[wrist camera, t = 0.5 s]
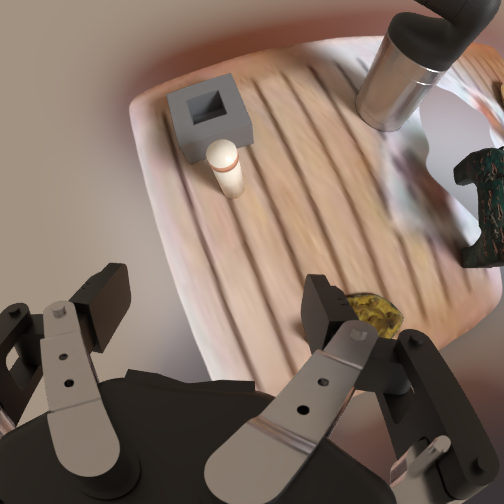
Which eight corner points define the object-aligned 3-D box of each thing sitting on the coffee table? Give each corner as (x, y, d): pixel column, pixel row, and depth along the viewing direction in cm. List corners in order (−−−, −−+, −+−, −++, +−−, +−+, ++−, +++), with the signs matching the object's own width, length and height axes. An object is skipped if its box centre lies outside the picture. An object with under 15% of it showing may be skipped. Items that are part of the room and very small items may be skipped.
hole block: (176, 114, 41) (166, 94, 35) (234, 95, 41) (230, 73, 35) (190, 164, 40) (179, 147, 34) (253, 143, 40) (251, 123, 34)
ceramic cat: (478, 277, 37) (563, 273, 17) (453, 278, 37) (544, 274, 17) (468, 168, 38) (537, 125, 19) (443, 163, 39) (514, 111, 19)
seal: (392, 284, 39) (298, 309, 39) (405, 280, 34) (302, 308, 34) (403, 342, 37) (311, 371, 37) (418, 345, 32) (316, 379, 32)
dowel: (231, 173, 40) (219, 133, 28) (249, 186, 40) (243, 149, 28) (217, 190, 40) (199, 156, 28) (235, 203, 39) (223, 173, 28)
